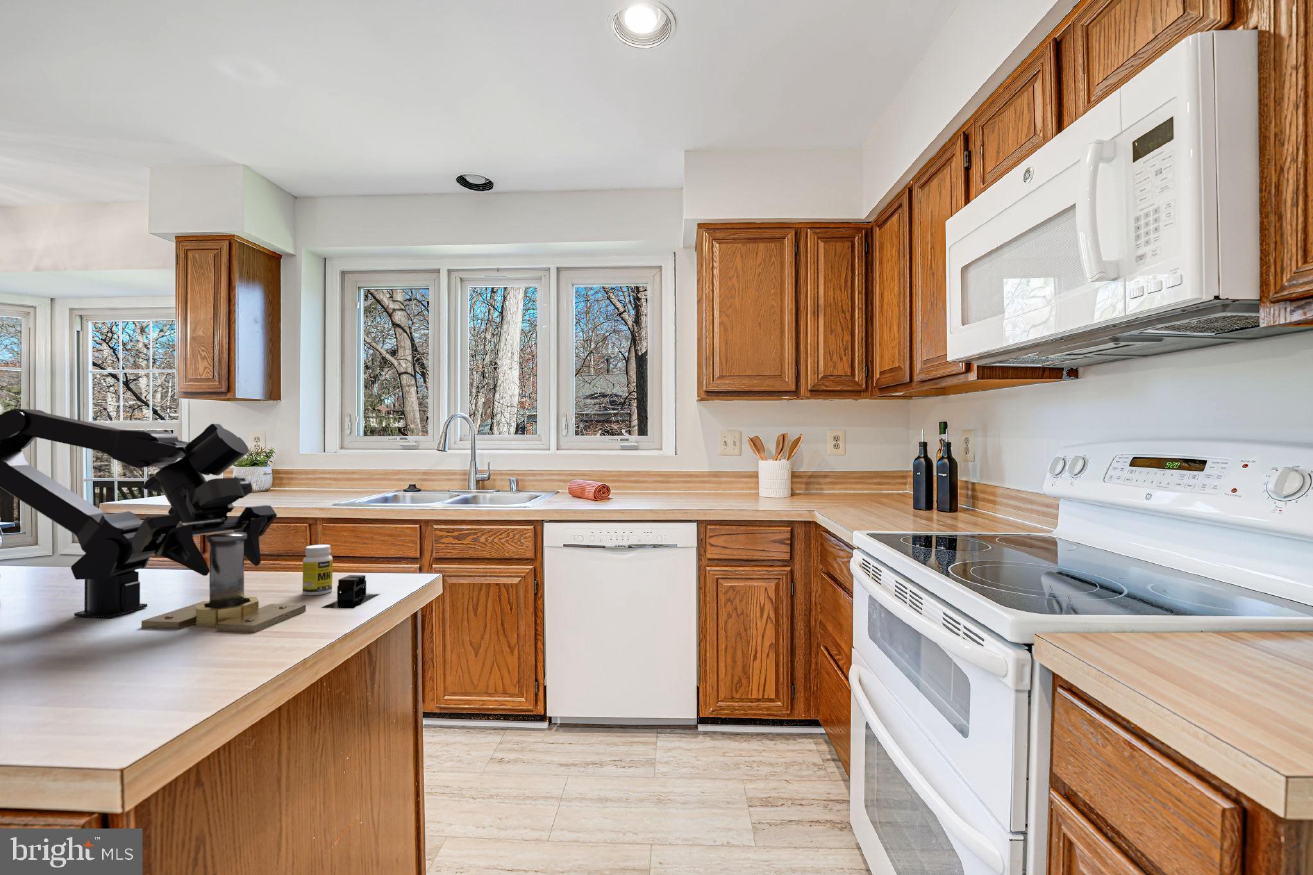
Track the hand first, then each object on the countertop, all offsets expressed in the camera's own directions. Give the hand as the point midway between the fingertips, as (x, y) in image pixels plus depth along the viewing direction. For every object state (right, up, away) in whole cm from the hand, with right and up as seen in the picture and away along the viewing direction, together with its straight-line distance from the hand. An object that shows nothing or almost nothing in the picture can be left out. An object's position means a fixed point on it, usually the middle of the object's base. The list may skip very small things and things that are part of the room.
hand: (233, 568), depth 95 cm
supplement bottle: (+4, -8, +17) cm, 19 cm away
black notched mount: (+12, -9, +12) cm, 19 cm away
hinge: (-1, -8, +1) cm, 8 cm away
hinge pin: (-1, -8, +1) cm, 8 cm away
